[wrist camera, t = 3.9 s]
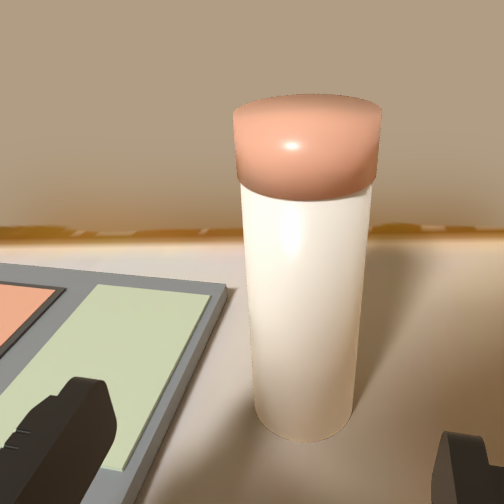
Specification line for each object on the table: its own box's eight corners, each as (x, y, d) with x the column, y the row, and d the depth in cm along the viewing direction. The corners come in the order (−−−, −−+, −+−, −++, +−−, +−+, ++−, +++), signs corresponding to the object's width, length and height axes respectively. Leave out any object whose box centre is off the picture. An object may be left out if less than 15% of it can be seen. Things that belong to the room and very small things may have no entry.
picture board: (227, 297, 29) (225, 281, 28) (121, 529, 17) (115, 509, 16) (-27, 272, 32) (-33, 257, 32) (-255, 446, 21) (-272, 427, 20)
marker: (356, 371, 23) (381, 94, 16) (352, 452, 19) (382, 135, 12) (263, 358, 24) (251, 93, 17) (241, 434, 20) (214, 130, 13)
